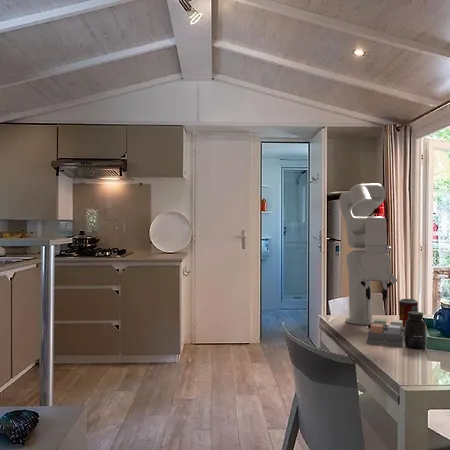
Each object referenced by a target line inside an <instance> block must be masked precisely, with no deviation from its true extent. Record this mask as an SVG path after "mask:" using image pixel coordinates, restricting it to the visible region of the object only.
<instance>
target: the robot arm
mask: <svg viewBox="0 0 450 450" xmlns="http://www.w3.org/2000/svg"><path fill="white" fill-rule="evenodd" d="M385 199H386V189H385V188H384V186H383V185H382V184H381V183H359V184H355V185H352V187H351V188H350V190H346V191H344V192H342V193H340V196H339V199H338V201H339V203H338V204H339V209H340V211H341V214H342V217H343V218H344V221H345V227H346V235H347V236H346V238H347V243H348V247H349V248H350V249H353V250H351V251H349V252H348V253H347V254H346V257H345V258H346V266H347V267H346V268H347V274H348V314H349V317H346V318H345V322H346V323H347V324H351V325H357V326H358V325H359V326H368V325H370V326H371V324H374V320H375V318H373V315H372V314H373V313H372V311H373V310H372V307H373V306H372V300H373V299H372V282H381V283H382V285H383V287H382V294H381V296H382V301H386V299H388V289H390V288H391V286H393V285H394V284H395V283H397V282H398V279H397V278H396V276H395V275H394V274H393V273H392V264H391V256H390V254H389V253H388V252H390V251H392V247H391V246H388V245H387V244H388V243H387V239H388V238H387V236H388V235H387V231H388V230H387V228H388V226H387V219H386V217H384V216H370V215H372V213H374V211H375V209H377V208H379V206H381V204H383V203H384V201H385Z"/></svg>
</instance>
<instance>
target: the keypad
mask: <svg viewBox="0 0 450 450" xmlns="http://www.w3.org/2000/svg"><path fill="white" fill-rule="evenodd" d="M389 325H390V324H386V327H385V328H383V333H382V334H381V333H371V328H370V329H369V331H368V332H367V339H366V344H367V345H368V344H370V345H380V346H391V347H401V348H403V346H404V344H405V326H403V328H402V329H401V334H400V335H392V334H388V326H389Z"/></svg>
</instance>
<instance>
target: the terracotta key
mask: <svg viewBox="0 0 450 450" xmlns="http://www.w3.org/2000/svg"><path fill="white" fill-rule="evenodd" d="M370 329H371V333H381V334H382V333H383V324H371V325H370Z"/></svg>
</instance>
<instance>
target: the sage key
mask: <svg viewBox="0 0 450 450" xmlns="http://www.w3.org/2000/svg"><path fill="white" fill-rule="evenodd" d="M374 319H375V320H374V324H383V328H385V327H386V325H387V318H386V319H385V318H374Z"/></svg>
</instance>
